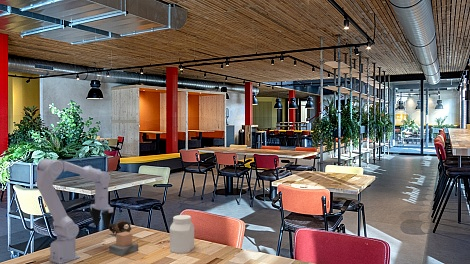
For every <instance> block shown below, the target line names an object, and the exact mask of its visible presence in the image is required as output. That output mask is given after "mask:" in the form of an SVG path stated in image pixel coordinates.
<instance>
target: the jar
mask: <svg viewBox="0 0 470 264" xmlns="http://www.w3.org/2000/svg"><path fill="white" fill-rule="evenodd" d="M172 220H173V221H172V223H171V224H170V227H169V252H171V253H174V254H187V253H191V250H193V249H194V248H195V225H194V223H193V222H192V216H191V215H188V214H178V215H175V216H173V218H172Z"/></svg>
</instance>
